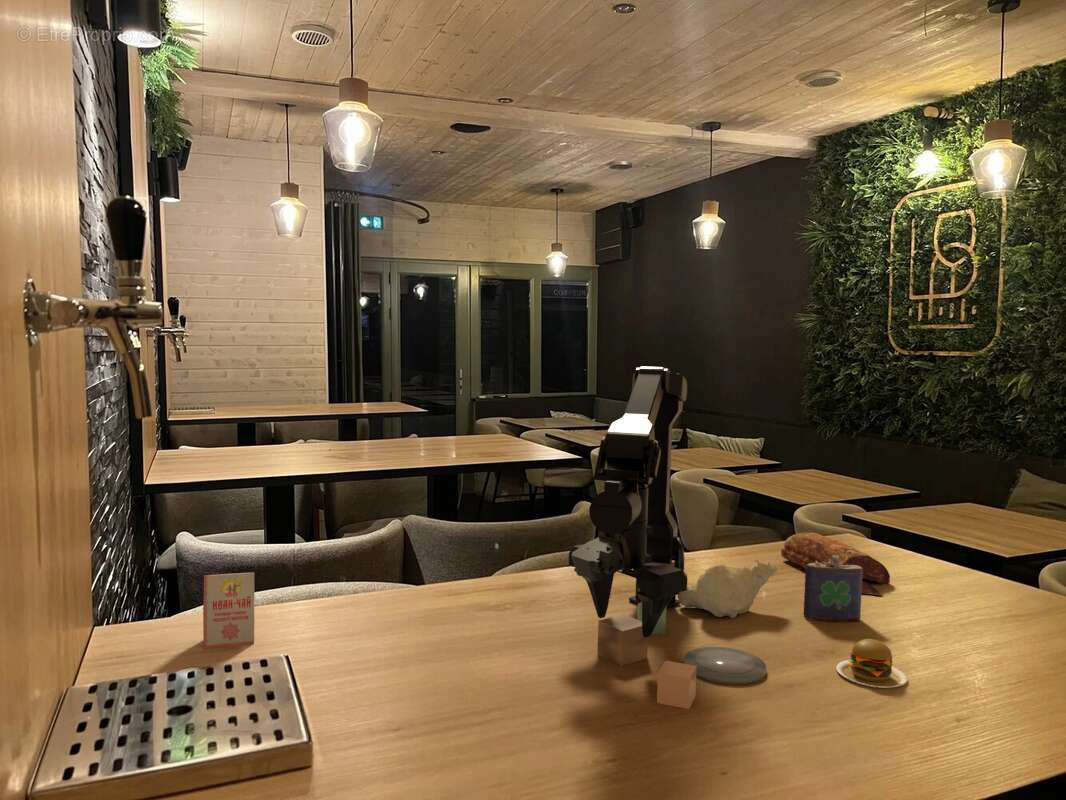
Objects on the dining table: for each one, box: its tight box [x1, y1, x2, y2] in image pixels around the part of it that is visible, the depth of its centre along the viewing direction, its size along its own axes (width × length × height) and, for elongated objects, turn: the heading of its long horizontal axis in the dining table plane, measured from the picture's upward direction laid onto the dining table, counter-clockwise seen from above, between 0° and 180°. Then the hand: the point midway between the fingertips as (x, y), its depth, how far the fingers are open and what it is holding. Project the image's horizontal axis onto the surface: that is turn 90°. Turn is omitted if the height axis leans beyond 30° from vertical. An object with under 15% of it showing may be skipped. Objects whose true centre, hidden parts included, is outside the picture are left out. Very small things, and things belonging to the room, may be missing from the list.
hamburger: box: [835, 638, 908, 689], centre depth 108 cm, size 12×12×6 cm
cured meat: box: [780, 532, 891, 596], centre depth 155 cm, size 18×25×7 cm
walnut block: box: [596, 614, 649, 667], centre depth 113 cm, size 5×5×5 cm
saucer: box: [683, 646, 767, 685], centre depth 110 cm, size 11×11×1 cm
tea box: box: [202, 571, 255, 650], centre depth 115 cm, size 4×7×10 cm, turn 108°
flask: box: [803, 555, 863, 622], centre depth 130 cm, size 9×3×11 cm, turn 87°
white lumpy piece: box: [677, 559, 778, 619], centre depth 132 cm, size 15×7×15 cm
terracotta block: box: [656, 660, 697, 710], centre depth 99 cm, size 4×4×4 cm
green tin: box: [636, 602, 667, 636], centre depth 123 cm, size 4×4×4 cm
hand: (623, 626), depth 113 cm, fingers open, 9 cm apart
